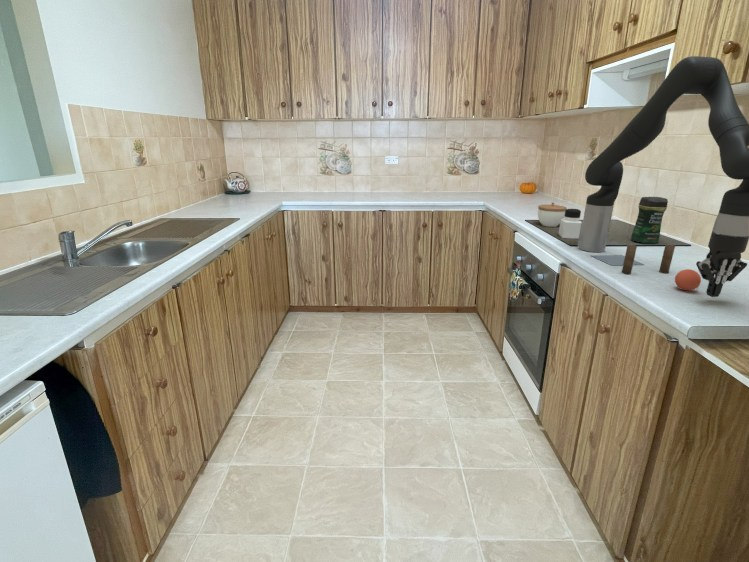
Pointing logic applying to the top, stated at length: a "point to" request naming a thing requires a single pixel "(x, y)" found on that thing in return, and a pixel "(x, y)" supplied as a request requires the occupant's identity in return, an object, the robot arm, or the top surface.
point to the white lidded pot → (551, 214)
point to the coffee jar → (649, 219)
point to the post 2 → (667, 258)
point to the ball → (687, 279)
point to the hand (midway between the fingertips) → (712, 295)
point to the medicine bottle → (570, 224)
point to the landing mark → (614, 259)
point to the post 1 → (629, 259)
